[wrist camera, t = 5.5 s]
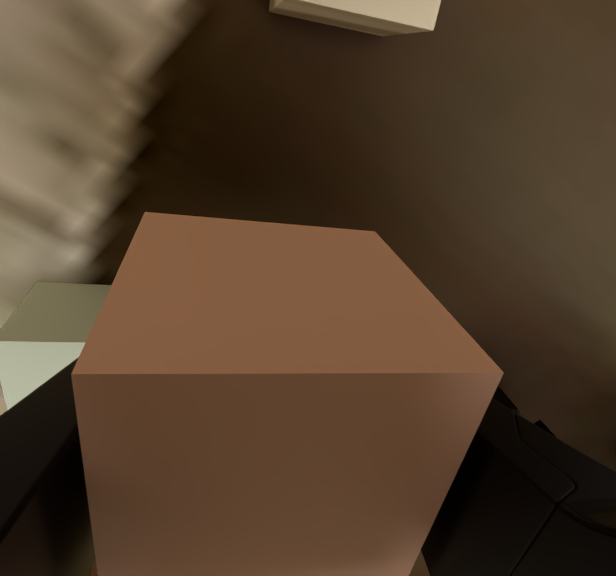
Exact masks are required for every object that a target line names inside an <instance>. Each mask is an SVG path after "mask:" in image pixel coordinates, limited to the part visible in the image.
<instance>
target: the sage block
mask: <svg viewBox="0 0 616 576" xmlns="http://www.w3.org/2000/svg"><path fill="white" fill-rule="evenodd" d="M110 288H111V285H96V284H74V283H53V282H37V283H36V284H35V285H34V287H33V288H32V289H31V291H30V292H29V293H28V294H27V296H26V297H25V298H24V300H23V301H22V302H21V303H20V305H19V306H18V307H17V309H16V310H15V311H14V313H13V314H12V315H11V316H10V318H9V319H8V320H7V322H6V323H5V324H4V326H3V327H2V328H1V329H0V381H1V385H2V389H3V394H4V398H5V402H6V407H7V410H9V409H10V408H11V407H13V406H14V405H15V404H17V403H18V402H19V401H21V400H22V399H23V398H25V397H26V396H27V395H29V394H30V393H31V392H33V391H34V390H35V389H37V388H38V387H39V386H41V385H42V384H43V383H45V382H46V381H47V380H49V379H50V378H51V377H53V376H54V375H55V374H57V373H58V372H59V371H61V370H62V369H63V368H65V367H66V366H67V365H69V364H70V363H71V362H73V361H74V360H75V359H77V358H78V357H79V356H80V354H81V351H82V349H83V347H84V345H85V343H86V340H87V338H88V336H89V334H90V332H91V329H92V327H93V325H94V323H95V321H96V318H97V316H98V314H99V312H100V310H101V307H102V305H103V303H104V301H105V299H106V296H107V294H108V292H109V290H110Z"/></svg>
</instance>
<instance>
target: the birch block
mask: <svg viewBox="0 0 616 576" xmlns="http://www.w3.org/2000/svg"><path fill="white" fill-rule="evenodd" d="M440 3H441V0H270V4H269V12H272V13H277V14H281V15H286V16H290V17H295V18H300V19H304V20H309V21H314V22H318V23H323V24H328V25H332V26H337V27H342V28H346V29H351V30H355V31H360V32H365V33H369V34H374V35H379V36H389V35H398V34H407V33H416V32H425V31H433V30H434V26H435V22H436V18H437V14H438V11H439V7H440Z"/></svg>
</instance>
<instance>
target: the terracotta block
mask: <svg viewBox="0 0 616 576" xmlns="http://www.w3.org/2000/svg"><path fill="white" fill-rule="evenodd" d="M503 374H504V372H503V371H502V370H501V369H500V368H499V367H498V366H497V365H496V363H495V362H494V361H493V360H492V359H491V358H490V357H489V356H488V355H487V354H486V353H485V351H484V350H483V349H482V348H481V347H480V346H479V345H478V344H477V343H476V342H475V340H474V339H473V338H472V337H471V336H470V335H469V334H468V333H467V332H466V331H465V330H464V328H463V327H462V326H461V325H460V324H459V323H458V322H457V321H456V320H455V319H454V317H453V316H452V315H451V314H450V313H449V312H448V311H447V310H446V309H445V308H444V306H443V305H442V304H441V303H440V302H439V301H438V300H437V299H436V298H435V297H434V296H433V294H432V293H431V292H430V291H429V290H428V289H427V288H426V287H425V286H424V285H423V283H422V282H421V281H420V280H419V279H418V278H417V277H416V276H415V275H414V274H413V272H412V271H411V270H410V269H409V268H408V267H407V266H406V265H405V264H404V263H403V262H402V260H401V259H400V258H399V257H398V256H397V255H396V254H395V253H394V252H393V251H392V249H391V248H390V247H389V246H388V245H387V244H386V243H385V242H384V241H383V240H382V238H381V237H380V236H379V235H378V234H377V233H376V232H375V231H363V230H351V229H340V228H328V227H316V226H304V225H293V224H281V223H269V222H257V221H245V220H234V219H222V218H210V217H198V216H187V215H175V214H163V213H151V212H145V213H144V215H143V217H142V219H141V222H140V224H139V226H138V228H137V230H136V233H135V235H134V237H133V239H132V241H131V244H130V246H129V248H128V250H127V252H126V255H125V257H124V259H123V261H122V263H121V266H120V268H119V270H118V272H117V274H116V277H115V279H114V281H113V283H112V285H111V288H110V290H109V292H108V294H107V296H106V299H105V301H104V303H103V305H102V307H101V310H100V312H99V314H98V316H97V318H96V321H95V323H94V325H93V327H92V329H91V332H90V334H89V336H88V338H87V340H86V343H85V345H84V347H83V349H82V351H81V354H80V356H79V358H78V360H77V362H76V365H75V367H74V369H73V371H72V373H71V377H72V384H73V392H74V399H75V407H76V414H77V422H78V430H79V437H80V445H81V452H82V460H83V467H84V475H85V482H86V490H87V497H88V505H89V512H90V520H91V527H92V535H93V543H94V550H95V558H96V565H97V573H98V576H408V575H409V573H410V571H411V569H412V567H413V565H414V563H415V561H416V558H417V556H418V554H419V552H420V550H421V548H422V546H423V544H424V541H425V539H426V537H427V535H428V533H429V531H430V529H431V527H432V524H433V522H434V520H435V518H436V516H437V514H438V512H439V510H440V507H441V505H442V503H443V501H444V499H445V497H446V495H447V493H448V490H449V488H450V486H451V484H452V482H453V480H454V478H455V476H456V473H457V471H458V469H459V467H460V465H461V463H462V461H463V459H464V456H465V454H466V452H467V450H468V448H469V446H470V444H471V442H472V439H473V437H474V435H475V433H476V431H477V429H478V427H479V425H480V422H481V420H482V418H483V416H484V414H485V412H486V410H487V408H488V405H489V403H490V401H491V399H492V397H493V395H494V393H495V391H496V388H497V386H498V384H499V382H500V380H501V378H502V376H503Z"/></svg>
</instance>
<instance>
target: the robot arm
mask: <svg viewBox="0 0 616 576" xmlns="http://www.w3.org/2000/svg"><path fill="white" fill-rule="evenodd" d="M78 358H79V357H78ZM78 358H77V359H75V360H74V361H73V362H71V363H70V364H69V365H67V366H66V367H65V368H63V369H62V370H61V371H59V372H58V373H57V374H55V375H54V376H53V377H51V378H50V379H49V380H47V381H46V382H45V383H43V384H42V385H41V386H39V387H38V388H37V389H35V390H34V391H33V392H31V393H30V394H29V395H27V396H26V397H25V398H23V399H22V400H21V401H19V402H18V403H17V404H15V405H14V406H13V407H11V408H10V409H9V410H7V411H6V412H5V413H3V414H2V415H1V416H0V576H90V575H91V572H92V568H93V565H94V562H95V550H94V543H93V535H92V527H91V520H90V512H89V505H88V497H87V490H86V482H85V475H84V467H83V460H82V452H81V445H80V437H79V430H78V422H77V414H76V407H75V399H74V392H73V384H72V377H71V373H72V371H73V369H74V367H75V365H76V362H77V360H78ZM519 413H520V412H519V410H518V409H517V407H516V406H515V405H514V404H513V403H512V402H511V400H510V399H509V398H508V397H507V396H506V395H505V393H504V392H503V391H502V390H501V389H500V388H499V386H497V388H496V391H495V393H494V395H493V397H492V399H491V401H490V403H489V405H488V408H487V410H486V412H485V414H484V416H483V418H482V420H481V422H480V425H479V427H478V429H477V431H476V433H475V435H474V437H473V439H472V442H471V444H470V446H469V448H468V450H467V452H466V454H465V456H464V459H463V461H462V463H461V465H460V467H459V469H458V471H457V473H456V476H455V478H454V480H453V482H452V484H451V486H450V488H449V490H448V493H447V495H446V497H445V499H444V501H443V503H442V505H441V507H440V510H439V512H438V514H437V516H436V518H435V520H434V522H433V524H432V527H431V529H430V531H429V533H428V535H427V537H426V539H425V541H424V544H423V546H422V548H421V551H422V554H423V557H424V559H425V562H426V565H427V568H428V570H429V573H430V576H616V471H614V470H613V469H611V468H609V467H607V466H605V465H604V464H602V463H600V462H598V461H596V460H594V459H593V458H591V457H589V456H587V455H585V454H584V453H582V452H580V451H578V450H577V449H575V448H573V447H571V446H570V445H568V444H566V443H564V442H563V441H561V440H559V439H557V438H556V436H555V435H554V434H553V433H552V432H551V431H550V430H549V429H548V428H547V427H546V426H545V425H544V423H543V422H542V421H541V420H539V421H537V422H536V423H534V424H533V423H531V422H529V421H528V420H526V419H525V418H523V417H522V416H520V415H519Z"/></svg>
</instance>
